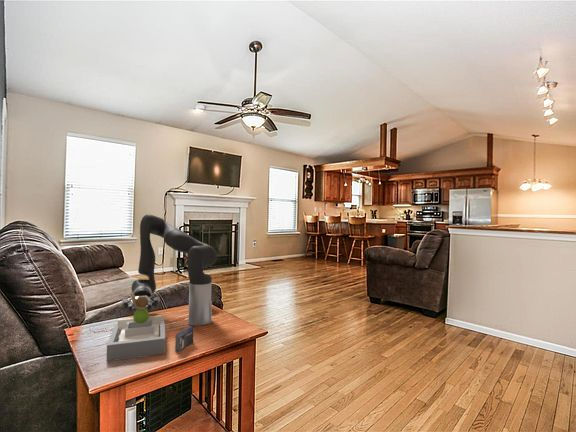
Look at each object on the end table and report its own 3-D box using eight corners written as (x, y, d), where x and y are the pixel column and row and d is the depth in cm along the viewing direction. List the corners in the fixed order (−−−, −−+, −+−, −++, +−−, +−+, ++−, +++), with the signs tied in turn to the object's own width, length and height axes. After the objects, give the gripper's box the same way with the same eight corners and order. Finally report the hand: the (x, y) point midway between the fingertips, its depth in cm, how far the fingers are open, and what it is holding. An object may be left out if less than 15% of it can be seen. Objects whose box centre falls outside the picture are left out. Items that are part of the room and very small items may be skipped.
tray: (162, 324, 129) (163, 314, 129) (163, 340, 113) (164, 329, 113) (117, 329, 122) (118, 319, 122) (111, 346, 106) (112, 334, 106)
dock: (163, 333, 120) (164, 321, 120) (164, 353, 103) (165, 338, 103) (114, 339, 113) (114, 326, 113) (106, 361, 97) (106, 345, 97)
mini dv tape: (179, 352, 104) (179, 334, 104) (175, 351, 105) (175, 334, 105) (193, 343, 112) (193, 326, 112) (189, 342, 113) (190, 326, 113)
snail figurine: (134, 320, 121) (134, 290, 121) (150, 320, 121) (151, 290, 121) (128, 325, 116) (128, 294, 115) (145, 325, 116) (146, 294, 116)
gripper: (123, 288, 129) (118, 299, 113) (160, 286, 134) (161, 296, 119) (123, 306, 129) (118, 319, 113) (160, 303, 134) (160, 316, 119)
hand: (140, 307), depth 116 cm, fingers closed on snail figurine, 5 cm apart
